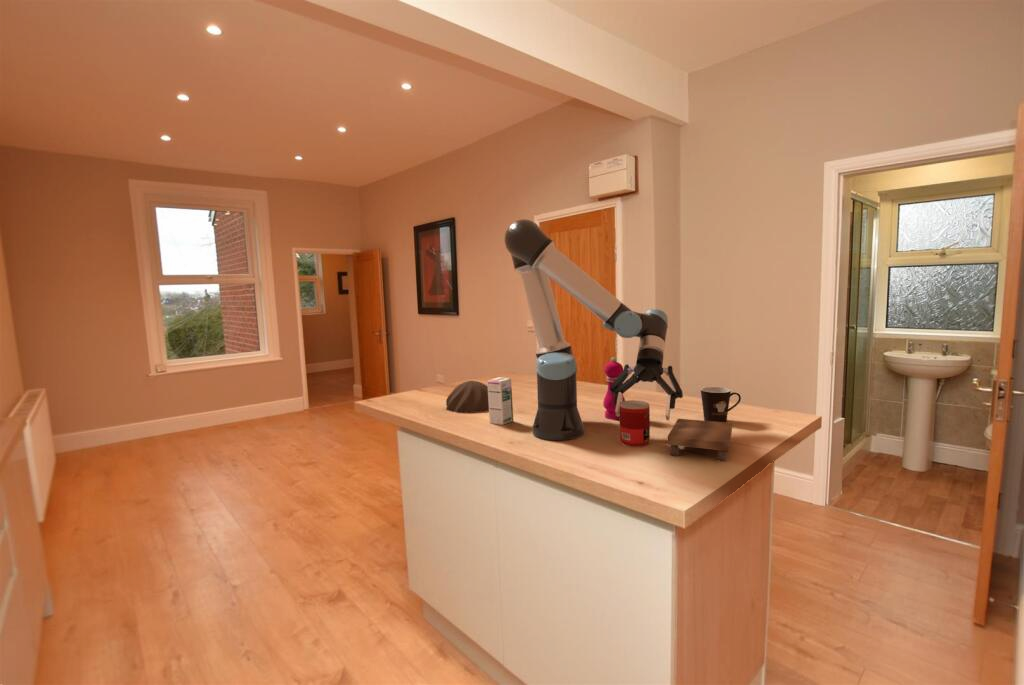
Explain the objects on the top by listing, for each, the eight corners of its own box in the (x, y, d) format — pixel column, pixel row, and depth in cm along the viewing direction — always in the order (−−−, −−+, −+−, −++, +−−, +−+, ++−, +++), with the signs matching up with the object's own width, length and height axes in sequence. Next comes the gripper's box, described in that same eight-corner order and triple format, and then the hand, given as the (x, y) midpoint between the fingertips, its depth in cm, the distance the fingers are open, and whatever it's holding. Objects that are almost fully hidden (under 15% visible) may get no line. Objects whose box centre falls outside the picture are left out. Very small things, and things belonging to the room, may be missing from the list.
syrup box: (503, 425, 155) (501, 381, 154) (488, 423, 159) (486, 379, 157) (513, 421, 160) (512, 378, 158) (499, 418, 163) (497, 376, 162)
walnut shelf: (667, 456, 122) (667, 436, 121) (677, 435, 138) (677, 418, 137) (728, 463, 116) (728, 442, 115) (731, 440, 132) (732, 423, 131)
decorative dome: (477, 398, 197) (476, 374, 196) (507, 406, 181) (506, 380, 180) (436, 407, 185) (434, 381, 184) (465, 416, 169) (463, 388, 168)
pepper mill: (628, 415, 161) (628, 356, 159) (621, 420, 155) (620, 359, 153) (608, 413, 165) (607, 355, 163) (600, 418, 159) (599, 358, 157)
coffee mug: (700, 423, 148) (700, 392, 147) (700, 416, 156) (700, 386, 155) (742, 426, 144) (742, 393, 143) (740, 419, 152) (740, 387, 151)
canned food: (650, 447, 129) (650, 407, 128) (620, 446, 131) (619, 406, 129) (648, 438, 136) (648, 400, 135) (619, 437, 138) (619, 400, 137)
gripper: (695, 362, 143) (690, 426, 131) (612, 360, 154) (600, 419, 142) (693, 347, 137) (688, 412, 126) (607, 346, 148) (594, 406, 137)
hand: (641, 416), depth 134 cm, fingers open, 13 cm apart
